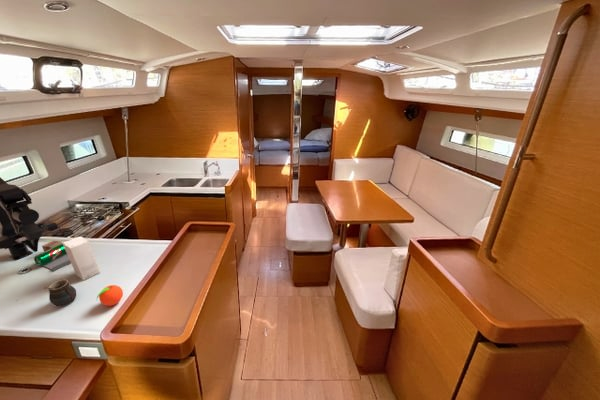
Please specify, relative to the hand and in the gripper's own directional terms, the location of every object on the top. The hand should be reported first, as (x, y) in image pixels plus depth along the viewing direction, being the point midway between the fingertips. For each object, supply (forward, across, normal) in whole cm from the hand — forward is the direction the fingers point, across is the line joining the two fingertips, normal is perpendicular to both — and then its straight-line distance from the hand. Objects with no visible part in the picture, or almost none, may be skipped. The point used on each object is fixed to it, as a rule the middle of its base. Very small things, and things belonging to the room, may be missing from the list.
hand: (35, 251), depth 112 cm
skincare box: (+9, +6, -22) cm, 24 cm away
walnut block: (+9, +9, +10) cm, 16 cm away
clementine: (+9, 0, -49) cm, 50 cm away
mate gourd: (+9, -7, -33) cm, 35 cm away
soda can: (+6, 0, +2) cm, 6 cm away
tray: (+8, +7, 0) cm, 11 cm away
